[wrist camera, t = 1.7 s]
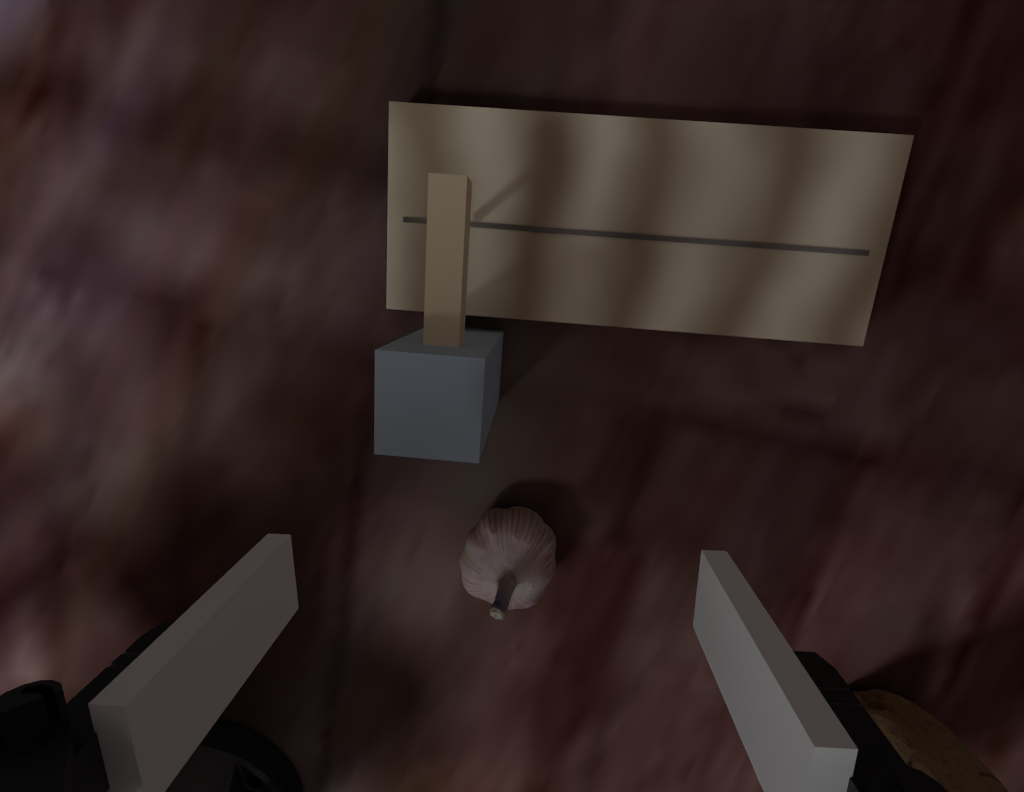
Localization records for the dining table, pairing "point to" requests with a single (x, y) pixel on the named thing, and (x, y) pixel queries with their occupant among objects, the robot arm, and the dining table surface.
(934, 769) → the stone
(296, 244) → the dining table surface
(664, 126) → the board
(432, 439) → the hammer
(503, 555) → the garlic bulb
